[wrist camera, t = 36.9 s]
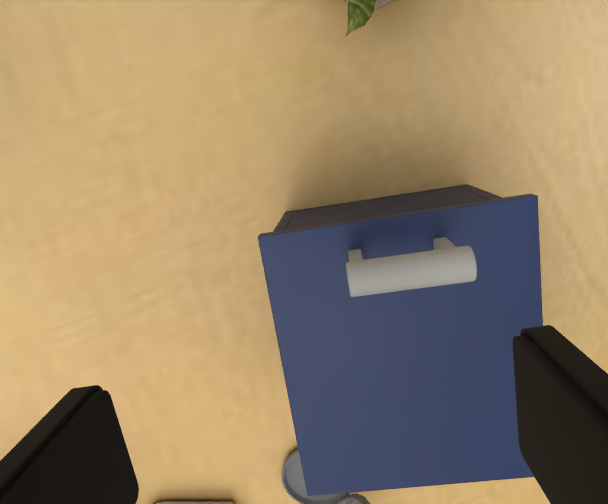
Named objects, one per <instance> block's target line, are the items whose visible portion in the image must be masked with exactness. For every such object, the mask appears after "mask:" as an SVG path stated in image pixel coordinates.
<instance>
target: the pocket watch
mask: <svg viewBox="0 0 608 504" xmlns="http://www.w3.org/2000/svg"><path fill="white" fill-rule="evenodd" d="M282 482H283V485H284V488H285V490H286V491H287V493H288V494H289V495H290V496H291V497H292V498H293V499H294V500H296V501H298V502H299V503H301V504H370V503H369V501H368V500H367V499H366V498H365V497H364V496H361V495H359V494H352V495H349V494H348V493H339V494H327V495H315V496H307V491H306V486H305V481H304V476H303V470H302V465H301V460H300V455H299V449H297V450H295V451H294V452H292V453H291V454H290V455H289V456H288V458H287V459H286V461H285V463H284V466H283V469H282Z"/></svg>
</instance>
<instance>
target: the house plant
mask: <svg viewBox="0 0 608 504" xmlns="http://www.w3.org/2000/svg"><path fill="white" fill-rule="evenodd" d="M345 1H346V2H347V3H348V31H347V33H346V36H347V35H348V34H349V33H350V32H352V31H354V30H356V29H358V28H360V27H362V26H364V25H365V24H366V22H367V21H368V20H369V18H370V17H371V15H372V13H373V11H374V8H380V7H382V6H384V5H386V4H388V3H389V2H391V1H392V0H345ZM346 36H345V37H346Z"/></svg>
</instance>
